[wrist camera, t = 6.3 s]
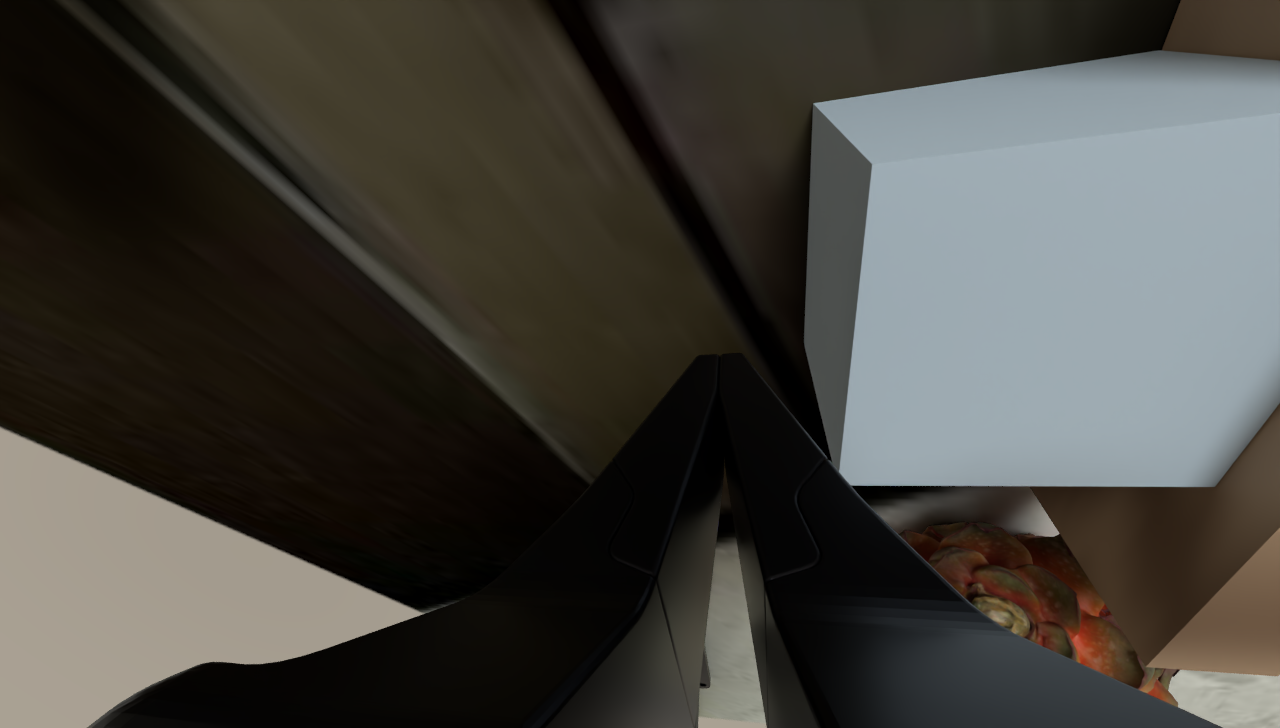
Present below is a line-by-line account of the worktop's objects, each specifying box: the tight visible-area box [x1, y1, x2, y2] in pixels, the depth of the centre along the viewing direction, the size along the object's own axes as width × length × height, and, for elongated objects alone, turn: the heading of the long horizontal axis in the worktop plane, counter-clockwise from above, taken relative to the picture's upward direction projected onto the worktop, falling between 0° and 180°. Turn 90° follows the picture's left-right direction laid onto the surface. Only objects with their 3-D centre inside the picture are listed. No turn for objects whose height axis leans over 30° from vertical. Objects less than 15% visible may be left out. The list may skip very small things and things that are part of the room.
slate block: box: [804, 50, 1280, 487], centre depth 11 cm, size 7×7×6 cm
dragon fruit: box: [898, 522, 1180, 707], centre depth 18 cm, size 8×8×12 cm
